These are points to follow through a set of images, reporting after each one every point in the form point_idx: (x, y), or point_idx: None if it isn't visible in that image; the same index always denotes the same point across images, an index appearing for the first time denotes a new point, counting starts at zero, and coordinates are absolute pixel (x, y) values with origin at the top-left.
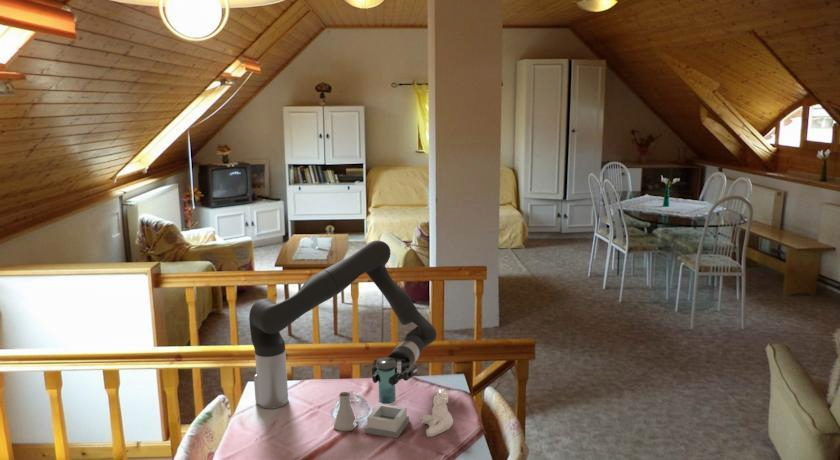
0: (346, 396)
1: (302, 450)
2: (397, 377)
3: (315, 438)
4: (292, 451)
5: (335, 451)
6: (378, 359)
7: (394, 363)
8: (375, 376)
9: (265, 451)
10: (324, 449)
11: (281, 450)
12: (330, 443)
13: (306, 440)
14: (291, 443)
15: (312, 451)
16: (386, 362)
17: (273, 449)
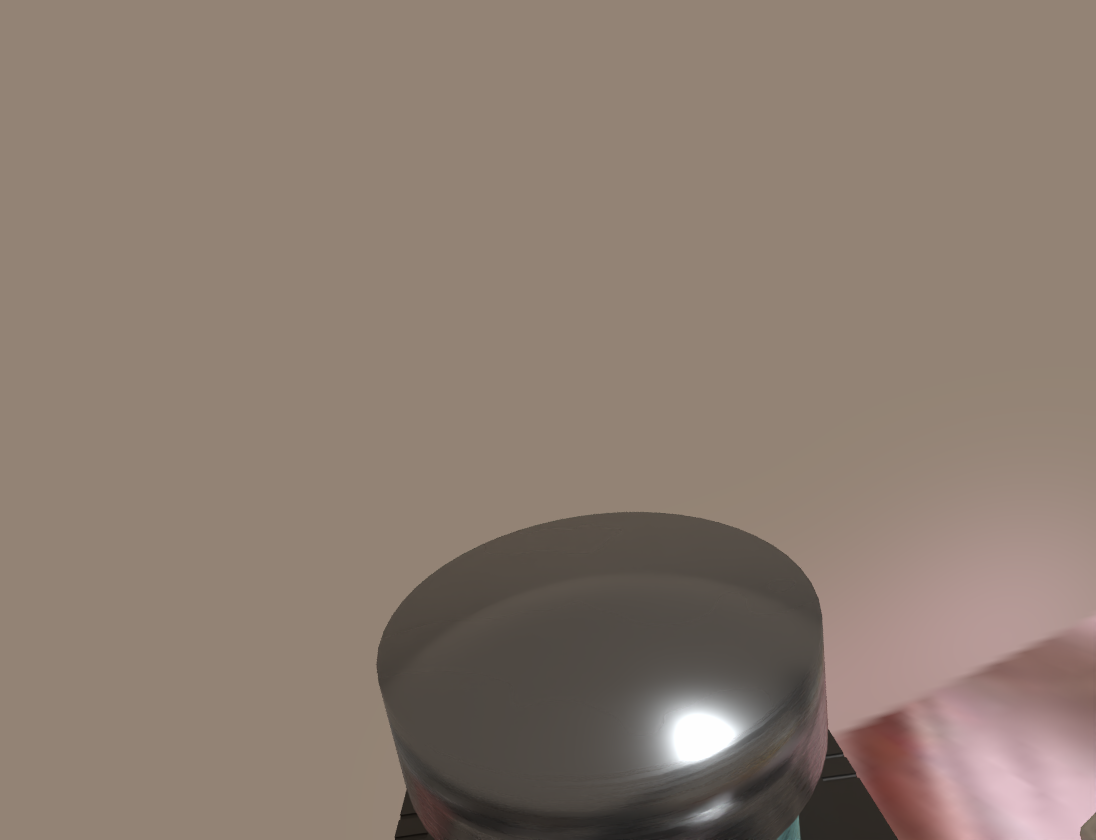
0: (1087, 823)
1: (955, 700)
2: (401, 830)
3: (1051, 816)
4: (983, 677)
5: None
6: (804, 594)
7: (397, 611)
8: None
9: (1079, 632)
10: (871, 751)
11: (1035, 662)
12: (908, 811)
13: (1063, 774)
14: (1084, 718)
15: (904, 714)
16: (564, 583)
17: (1075, 653)
